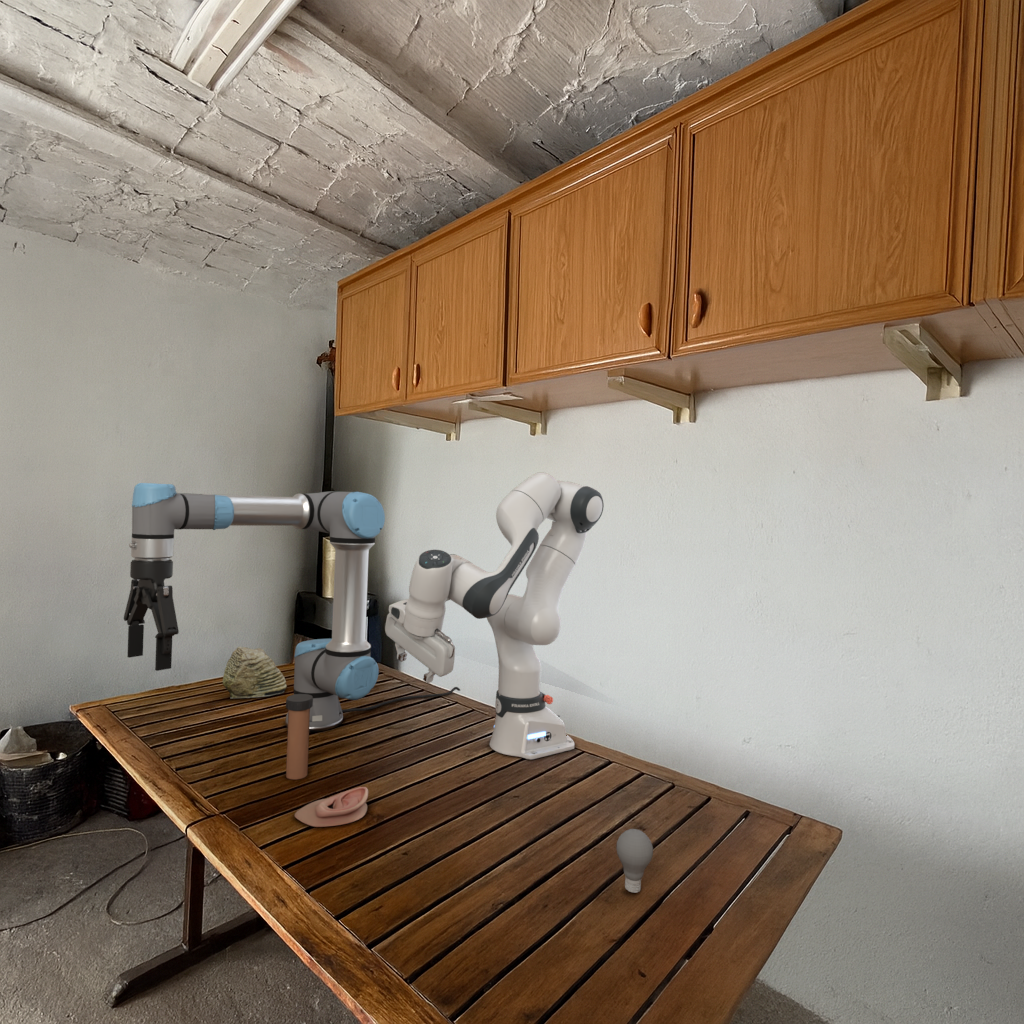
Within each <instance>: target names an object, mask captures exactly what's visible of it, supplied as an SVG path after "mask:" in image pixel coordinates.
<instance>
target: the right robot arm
mask: <svg viewBox="0 0 1024 1024" xmlns="http://www.w3.org/2000/svg"><path fill="white" fill-rule="evenodd" d="M603 512H604V499H603V496H602V494H601V493H600V492H599V491H598V490H597V489H595V488H593V487H590V486H588V485H582V484H580V483H576V482H572V481H568V480H567V481H565V480H557V479H556V478H555V477H554V476H553V475H551V474H550V473H547V472H536V473H533V474H531V475H530V476H529V477H527V478H526V479H524V480H523V481H521V482H520V483H519V484H518V485H516V486H515V487H514V488H513V489H512V490H511V491H510V492H509V493H507V495H506V496H504V498H502V499H501V501H500V503H499V504H498V506H497V508H496V512H495V518H496V523H497V526H498V529H499V530H500V532H501V534H502V535H503V537H504V538H505V539H506V540H507V541H508V543H509V544H510V546H511V547H510V549H509V550H508V552H507V554H506V555H505V556H504V558H503V560H502V561H501V563H500V564H499V565H498V567H497V568H496V569H495V570H493V571H486V570H484V569H483V568H481V567H479V566H477V565H476V564H474V563H473V562H471V561H469V560H467V559H466V558H464V557H463V556H460V555H457V554H454V553H451V554H449V553H448V552H447V551H445V550H441V549H428V550H425V551H423V552H421V553H420V554H419V555H418V557H417V559H416V561H415V563H414V566H413V569H412V572H411V576H410V579H409V586H408V594H409V597H408V598H406V599H402V600H399V601H396V602H393V603H391V604H389V606H388V613H387V615H386V620H385V624H384V631H385V635H386V636H387V637H388V638H389V639H391V641H393V642H394V646H395V649H396V653H397V654H396V659H397V660H398V661H399V662H401V663H402V662H405V661H406V660H407V656H408V654H410V655H411V656H412V657H414V658H415V659H416V660H417V661H418V662H419V663H421V664H423V666H425V667H426V668H427V669H428V670H427V671H428V672H427V673H424V674H423V678H422V680H423V681H424V682H425V683H426V684H430V683H433V681H434V677H435V676H437V677H439V678H442V677H445V676H447V675H449V674H450V673H452V672H453V671H454V666H455V657H456V652H455V650H456V647H455V645H454V643H453V640H452V638H451V637H450V636H448V635H446V634H445V633H444V632H442V630H443V625H444V620H445V615H446V609H447V608H446V603H447V602H448V601H452V602H453V603H455V604H457V605H458V606H459V607H461V608H463V609H464V610H465V611H466V612H467V613H469V614H470V615H472V616H473V618H475V619H480V620H481V619H486V620H487V622H488V624H489V626H490V627H491V630H492V633H493V637H494V641H495V647H496V652H497V659H498V683H497V690H496V694H495V704H494V707H495V720H494V725H493V729H492V734H491V737H490V741H489V747H490V748H491V750H493V751H495V752H496V753H499V754H501V755H502V754H503V755H505V756H506V755H507V756H512V757H519V758H523V759H525V760H536V759H539V758H543V757H548V756H552V755H555V754H559V753H560V754H561V753H565V752H567V751H572V750H574V749H575V748H576V746H575V741H574V740H573V738H572V737H571V736H569V735H568V734H567V729H566V724H565V723H564V721H563V719H562V718H561V715H559V714H556V713H555V712H554V711H553V710H551V708H549V707H548V706H546V704H547V705H552V704H553V702H554V698H553V697H552V696H551V695H550V694H545V693H544V692H543V691H541V682H542V681H541V677H542V663H541V660H540V658H539V657H538V655H537V652H536V650H535V647H534V646H549V645H550V644H553V643H554V642H555V641H556V640H557V639H558V638H559V635H560V633H561V631H562V619H561V616H560V611H559V609H560V601H561V597H562V594H563V591H564V588H565V586H566V584H567V582H568V580H569V578H570V576H571V574H572V572H573V571H574V569H575V567H576V565H577V563H578V561H579V559H580V557H581V554H582V552H583V549H584V546H585V543H586V540H587V536H588V535H587V532H589V531H590V530H591V529H592V528H593V527H594V526H595V525H596V524H597V523H598V522H599V520H600V519H601V517H602V515H603ZM546 519H547V520H550V521H551V527H550V529H549V531H547V533H546V535H545V536H544V538H542V540H541V542H540V544H539V546H538V543H539V539H540V537H539V535H540V534H539V532H538V529H539V527H540V525H542V523H544V521H545V520H546ZM537 546H538V547H537ZM533 554H534V555H533ZM531 558H532V559H531ZM529 560H530V561H529ZM527 564H528V565H527ZM526 566H527V567H526ZM525 568H526V569H525ZM524 569H525V576H526V579H527V581H526V588H525V591H524V594H523V595H522V596H520V595H516V594H512V593H510V591H511V589H512V588H513V586H514V584H515V583H516V582H517V580H518V578H519V576H520V575H521V574H522V572H523V570H524ZM566 735H567V736H566Z"/></svg>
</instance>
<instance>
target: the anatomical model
mask: <svg viewBox="0 0 1024 1024" xmlns="http://www.w3.org/2000/svg"><path fill="white" fill-rule="evenodd" d="M368 797H369V789H368V787H366V786H360V787H355V788H352V789H348V790H346V791H341V792H340V793H337V794H334V795H332V796H330V797H327V798H322V799H318V800H315V801H312V802H309V803H308V804H306V805H304V806H302V807H301V808H299V809H298V810H297V811H296V812H295V813H294V818H295V819H297V820H298V821H300V822H301V823H303V824H305V825H308V826H310V827H314V828H315V827H316V828H323V827H334V826H341V825H346V824H351V823H353V822H356V821H358V820H361V819H362V818H363V817H364V816H365V815H366V814H367V811H368V804H367V800H368Z"/></svg>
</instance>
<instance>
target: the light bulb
mask: <svg viewBox="0 0 1024 1024" xmlns="http://www.w3.org/2000/svg"><path fill="white" fill-rule="evenodd" d="M615 849H616V854H617V857H618V859H619V861H620V863H621V865H622V867H623V873H624V874H623V875H624V876H625V878H624V888H625V890H627V891H628V892H630V893H634V894H635V893H639V892H640V891H641V889H642V887H641V886H642V879H643V877H644V875H645V871H646V868H647V867H648V866H649V864H650V863H651V861H652V859H653V855H654V847H653V843H652V841H651V838H649V836H648V835H647V834H646V833H645V832H643V831H642V830H641V829H636V828H629V829H627V830H625V831H623V832H622V833H621V834H620V835H619V837H618V839H617V841H616V847H615Z"/></svg>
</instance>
